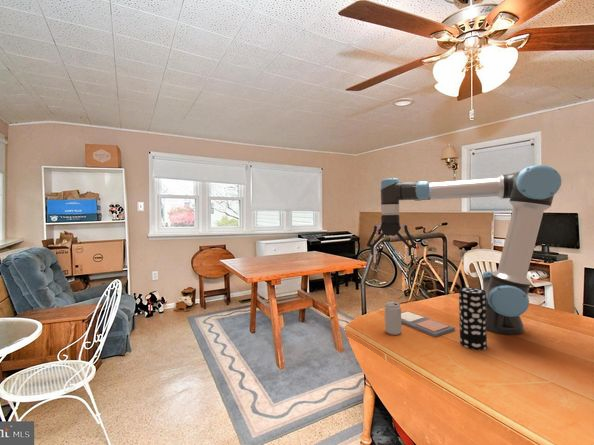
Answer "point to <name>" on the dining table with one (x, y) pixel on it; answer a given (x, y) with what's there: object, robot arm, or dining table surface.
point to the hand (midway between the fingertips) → (390, 262)
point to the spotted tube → (472, 318)
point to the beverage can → (393, 318)
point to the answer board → (425, 324)
